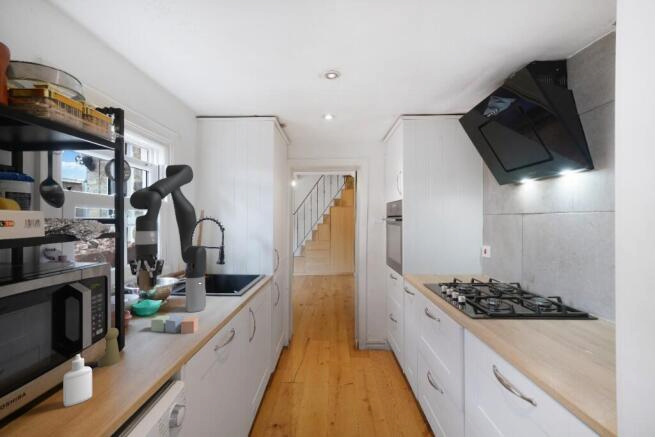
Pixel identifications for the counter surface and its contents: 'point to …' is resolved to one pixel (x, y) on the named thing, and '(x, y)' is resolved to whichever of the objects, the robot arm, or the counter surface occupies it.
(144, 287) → the wooden block
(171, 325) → the slate blue cube
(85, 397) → the eye dropper bottle
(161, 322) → the sage cube
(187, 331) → the terracotta cube
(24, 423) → the counter surface
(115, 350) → the olive pawn
